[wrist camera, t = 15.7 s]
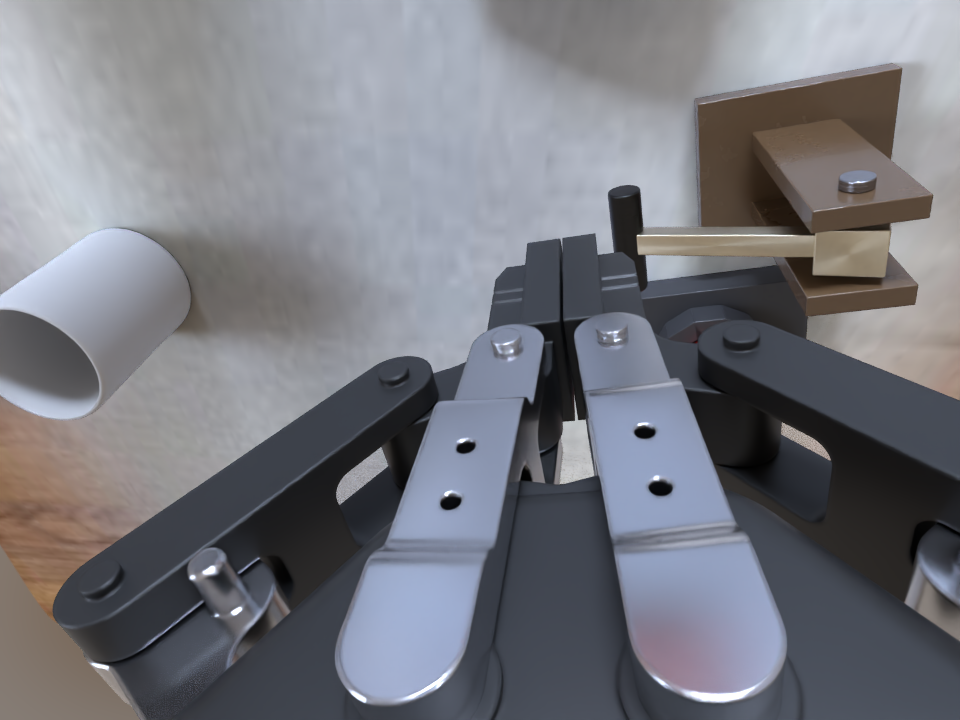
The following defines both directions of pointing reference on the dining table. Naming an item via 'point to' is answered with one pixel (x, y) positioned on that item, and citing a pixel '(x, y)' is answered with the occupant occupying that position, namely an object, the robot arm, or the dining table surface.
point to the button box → (721, 303)
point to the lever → (746, 241)
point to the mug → (88, 322)
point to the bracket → (811, 174)
